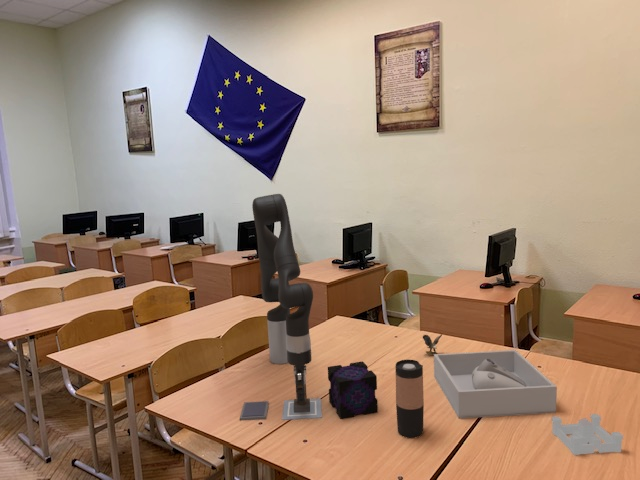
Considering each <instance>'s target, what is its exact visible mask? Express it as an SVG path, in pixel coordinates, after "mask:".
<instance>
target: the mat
mask: <svg viewBox="0 0 640 480" xmlns="http://www.w3.org/2000/svg"><path fill="white" fill-rule="evenodd" d="M282 408H283V409H282V418H281V419H282V420H283V421H285V420H286V421H290V420H309V419H311V420H312V419H313V420H314V419H322V418H323V417H322V414H323V413H322V399H321V398H310V412H298V413H294V399H288V400H283V407H282Z"/></svg>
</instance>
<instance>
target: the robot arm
mask: <svg viewBox="0 0 640 480" xmlns="http://www.w3.org/2000/svg"><path fill="white" fill-rule="evenodd" d="M251 206H252V214H253V220H254V225H255V230H256V239H257V240H256V242H257V255H258V261H259V268H260V280H261V281H260V283H261V285H260V287H261V289H260V290H261V297H262V299H263V301H264V302H266V303H278V302H279V305H278V306H276V307H274V308H271V309H269V310H268V311H267V313H266V319H267V320H266V321H267V334H268V336H267V337H268V351H269V362H270V363H272V364H276V365H280V364H281V365H284V364H289V365H291V366H293V375H294V378H293V379H294V385H295V394H296V393H297V400H298V403H305V394H304V392H305V389H304V384H306V385H307V377H306V375H307V365H309V363H311V362H312V348H311V347H312V343H311V336H310V323H309V322H310V314H311V309H312V305H313V299H314V290H313V288H312V286H311V285H310V284H309V283H307V282H300V283H299V282H298V283H292V284H290V282H291V281H292V280H295V279H297V278H299V276H300V275H301V269H300V265H299V261H298V257H297V254H296V251H295V246H294V241H293V233H292V227H291V221H290V215H289V210H288V206H287V202H286V199H285V197H284V196H283V194H282V193H273V194H268V195H263V196H258V197H255V198H254V199H253V201H252V205H251ZM278 222H280V232H279V236H276V234H274V233H273V231H272V230H270V229H269V227H268V226H267V225H268V224H272V223H273V224H274V223H278ZM276 273H277V277H278V278H273V276H274V275H275V274H276ZM294 308H297V310H296V311H294V312H292V313H291V309H294ZM298 385H302V387H303V388H298Z"/></svg>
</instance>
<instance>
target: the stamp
mask: <svg viewBox="0 0 640 480" xmlns="http://www.w3.org/2000/svg"><path fill="white" fill-rule="evenodd" d="M298 388H303V387H302V385H298ZM304 389H305V392H304V394H305V403H298V400H297V393H296V392H295V397H296V398H294V399H293V400H294V413H298V412H310V399H311V398H309V397H307V383H306V384H304Z"/></svg>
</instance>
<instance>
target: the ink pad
mask: <svg viewBox="0 0 640 480" xmlns="http://www.w3.org/2000/svg"><path fill="white" fill-rule="evenodd" d="M269 404H270V403H269V400H262V401H248V402H247V401H245V402H243V405H242V407H241V408H242V409H241V412H240V416H239V421H253V420H254V421H255V420H256V421H257V420H258V421H259V420H266V419H267V418H268V417H267V415H268V409H269Z"/></svg>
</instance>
